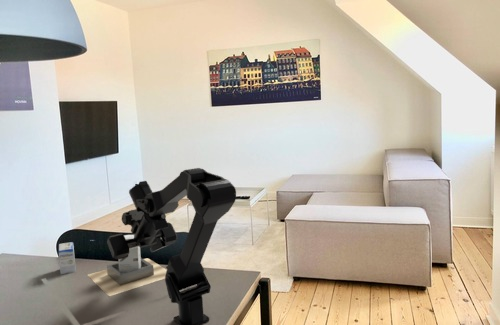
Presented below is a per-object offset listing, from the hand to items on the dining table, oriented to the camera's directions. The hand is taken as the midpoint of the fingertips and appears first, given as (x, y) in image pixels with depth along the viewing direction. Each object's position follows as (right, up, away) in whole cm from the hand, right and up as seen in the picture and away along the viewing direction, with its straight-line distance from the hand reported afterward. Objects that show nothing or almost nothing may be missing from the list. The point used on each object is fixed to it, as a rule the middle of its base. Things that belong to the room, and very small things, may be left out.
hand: (136, 255), depth 117 cm
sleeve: (-3, -7, +5) cm, 10 cm away
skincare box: (-3, -8, +5) cm, 10 cm away
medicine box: (-26, -9, +13) cm, 30 cm away
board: (-3, -8, +5) cm, 11 cm away
